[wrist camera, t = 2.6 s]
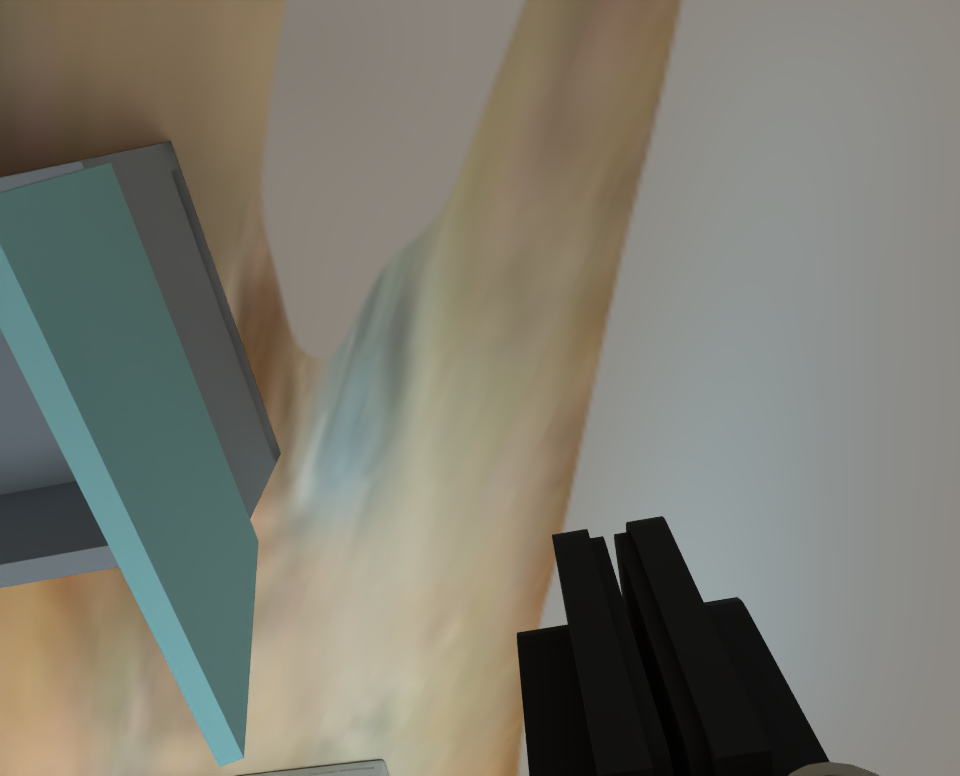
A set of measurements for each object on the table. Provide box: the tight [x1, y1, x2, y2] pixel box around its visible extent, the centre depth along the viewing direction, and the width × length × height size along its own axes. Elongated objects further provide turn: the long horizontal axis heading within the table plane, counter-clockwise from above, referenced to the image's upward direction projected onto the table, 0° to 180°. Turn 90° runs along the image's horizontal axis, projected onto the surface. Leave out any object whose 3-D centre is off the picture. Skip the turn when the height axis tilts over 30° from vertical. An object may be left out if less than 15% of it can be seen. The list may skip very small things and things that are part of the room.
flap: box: [0, 163, 258, 767], centre depth 19 cm, size 14×10×1 cm
